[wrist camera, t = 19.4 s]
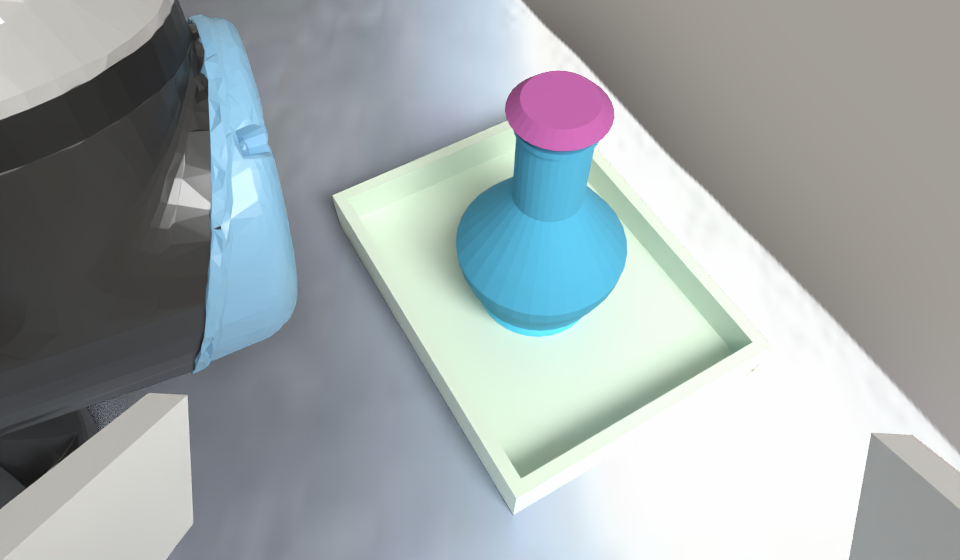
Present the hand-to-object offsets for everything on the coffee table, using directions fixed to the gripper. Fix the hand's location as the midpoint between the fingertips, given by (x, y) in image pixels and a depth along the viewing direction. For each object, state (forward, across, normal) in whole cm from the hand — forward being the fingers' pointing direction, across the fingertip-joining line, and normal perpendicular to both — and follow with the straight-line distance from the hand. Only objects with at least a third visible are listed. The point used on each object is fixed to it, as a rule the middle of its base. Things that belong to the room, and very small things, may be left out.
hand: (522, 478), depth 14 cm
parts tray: (+30, +2, -4) cm, 30 cm away
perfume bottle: (+29, +2, -3) cm, 30 cm away
